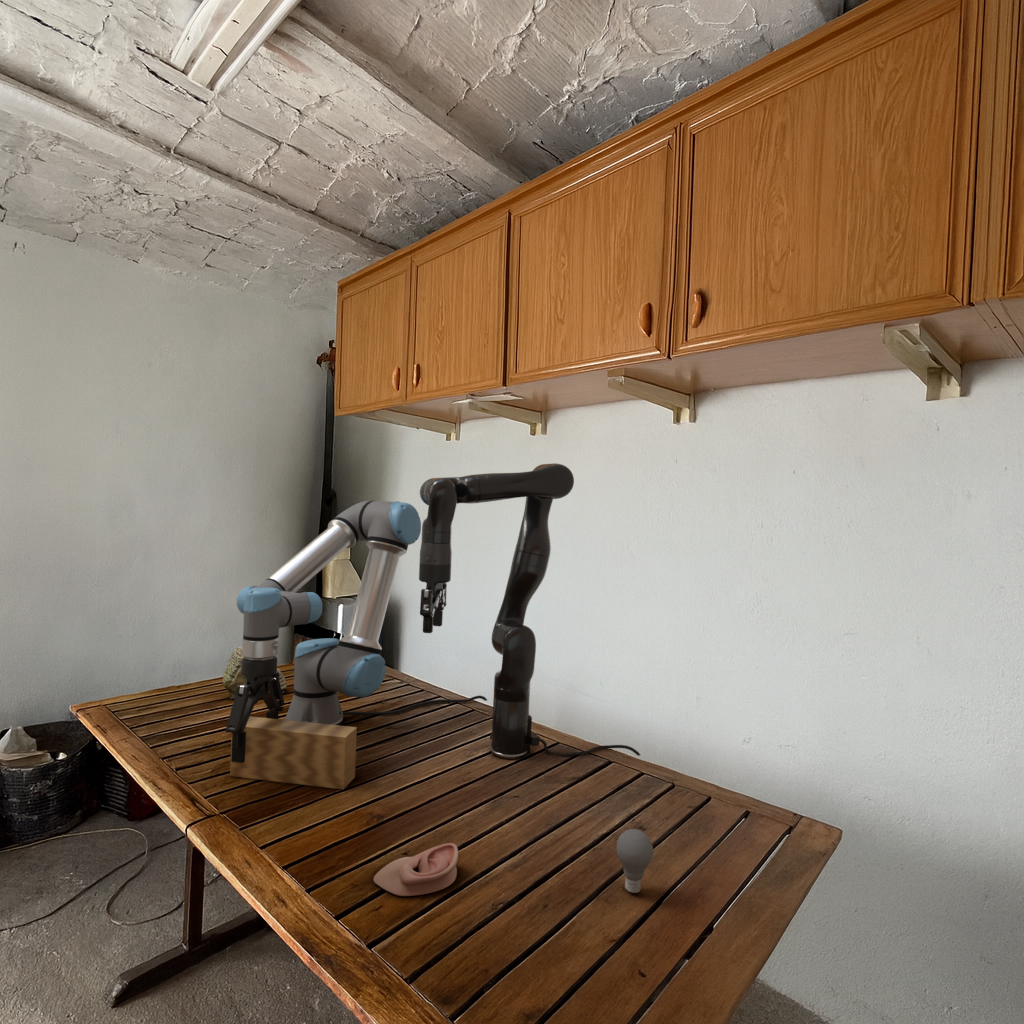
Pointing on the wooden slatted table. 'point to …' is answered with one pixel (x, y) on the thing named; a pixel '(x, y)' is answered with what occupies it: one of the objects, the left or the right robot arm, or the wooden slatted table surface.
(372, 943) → the wooden slatted table surface
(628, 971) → the wooden slatted table surface
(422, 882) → the anatomical model
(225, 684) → the fossil
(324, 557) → the left robot arm
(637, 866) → the light bulb
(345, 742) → the box
